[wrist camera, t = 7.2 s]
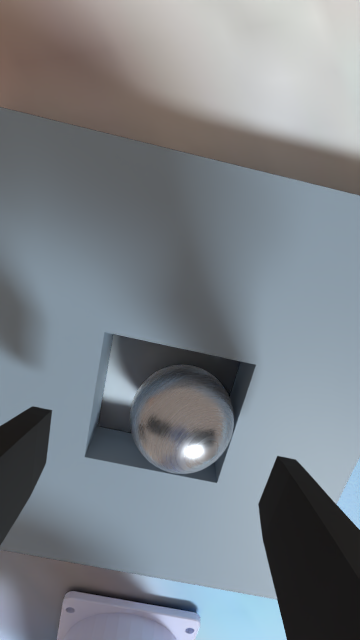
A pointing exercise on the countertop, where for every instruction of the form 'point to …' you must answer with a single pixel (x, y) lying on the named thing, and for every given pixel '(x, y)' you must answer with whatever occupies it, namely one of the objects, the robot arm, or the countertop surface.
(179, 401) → the steel ball
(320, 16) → the countertop surface
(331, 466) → the hole plate
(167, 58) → the countertop surface
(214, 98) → the countertop surface
